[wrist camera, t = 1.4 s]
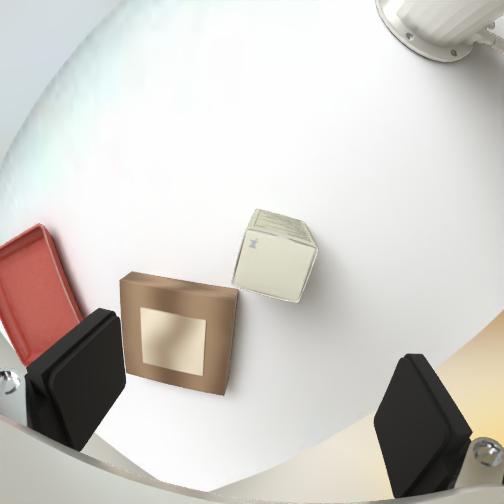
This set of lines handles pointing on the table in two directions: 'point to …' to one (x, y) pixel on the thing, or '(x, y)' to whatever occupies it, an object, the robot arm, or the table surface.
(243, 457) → the table surface
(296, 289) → the skincare box
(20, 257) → the plant saucer
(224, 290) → the base slab
